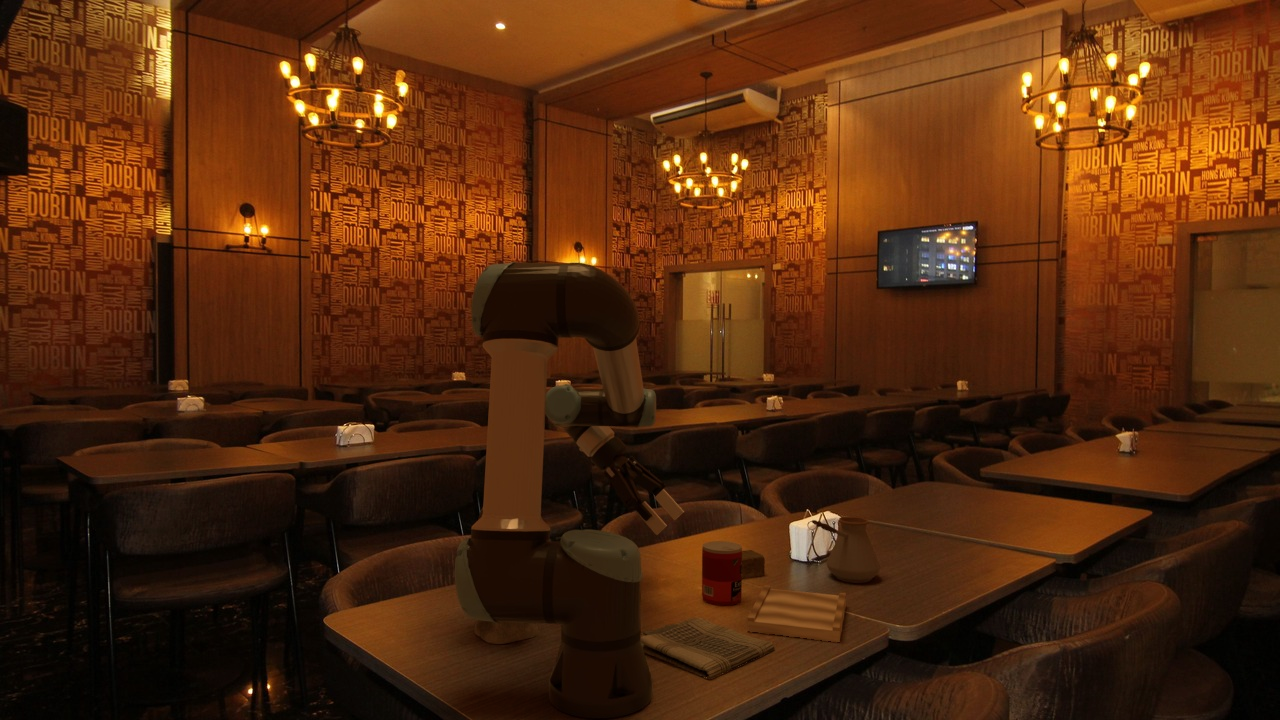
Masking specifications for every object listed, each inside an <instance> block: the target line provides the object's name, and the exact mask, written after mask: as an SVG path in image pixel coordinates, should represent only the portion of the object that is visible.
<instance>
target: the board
mask: <svg viewBox="0 0 1280 720" xmlns="http://www.w3.org/2000/svg"><path fill="white" fill-rule="evenodd" d="M846 599H847V593H846V592H839V593H838V594H828V593H818V592H807V591H798V590H797V591H796V590H789V589H776V588H771V585H767V584H764V586H763V587H762V589H761V591H760V593H759V595H758V597H757V599H756V601H755V602H754V604H753V606H752V609H751V610H750V612H749V614H748V616H747V628H746V629H747V631H750V632H749V633H752V632H759V633H758V634H760V633H766V634H765V635H769V634H775V635H774V636H777V635H783V636H782V637H786V636H789V637H788V638H794V637H800V638H799V639H803V638H807V639H806V640H811V639H814V640H813V641H820V640H822V642H828V641H831V642H830V643H837V642H841V638H842V637H841V636H842V631H843V624H844V619H845V612H846V607H847V600H846Z"/></svg>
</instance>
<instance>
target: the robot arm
mask: <svg viewBox="0 0 1280 720" xmlns="http://www.w3.org/2000/svg"><path fill="white" fill-rule="evenodd" d="M470 305H471V307H470V315H471V327H472V330H473V332H474V334H475V335H476V337H479V338H480V339H482V344H481V345H482V348H483V349H484V350H485V352H487V354H488V355H489V356H490V357H491V362H490V364H491V365H490V366H491V367H490V380H489V382H490V383H489V384H490V385H489V397H488V398H489V401H488V418H487V419H488V421H487V433H486V434H487V435H486V453H485V473H484V488H483V504H482V505H483V506H482V507H483V514H482V517H481V518H480V519H479V520H476V522H475V523H474V524H473V525H472V526H471V528H470V529H471V530H470V531H471V532H470V537H467V538H465V539H462V540H461V542H460V543H459V545H458V547H457V549H456V557H455V561H454V583H455V591H456V596H457V599H458V603H459V605H460V607H461V610H462V611H463V612H464V614H465V615H466V616H467V617H468V618H469V619H471V620H475V621H477V620H481V621H492V622H493V623H500V622H519V623H535V624H549V625H551V624H552V625H553V624H554V625H560V646H559V649H558V651H557V653H556V654H557V655H556V657H555V661H554V664H553V667H552V669H551V672H550V676H549V680H548V700H549V702H550V704H551V705H552V706H553V707H554V708H555V709H557V710H558V711H560V712H562V713H565V714H567V715H570V716H574V717H579V718H585V719H586V718H587V719H612V718H619V717H624V716H628V715H630V714H634V713H636V712H639V711H640V710H642V709H644V708H645V707H646V706H648V704H649V703H650V702H651V700H652V698H653V677H652V673H651V671H650V667H649V664H648V661H647V657H646V655H645V654H646V653H644V651H643V648H642V645H641V636H642V631H641V630H642V628H641V627H642V612H641V611H642V610H641V609H642V608H641V607H642V604H641V603H642V601H641V600H642V599H641V598H642V596H641V594H642V590H641V589H642V587H641V586H642V585H641V584H642V580H643V572H642V564H641V563H642V562H641V551H640V549H639V547H638V545H637V544H636V543H635V542H634V541H633V540H631V539H629V538H627V537H625V536H623V535H620V534H617V533H614V532H610V531H605V530H597V529H584V528H583V529H582V530H581V529H571V530H568V531H566V532H564V533H563V534H562V535H561V538H560V541H553V540H551V527H550V526H549V525H548V524H547V523H546V522H545V521H544V520H543V518H542V516H541V514H542V511H541V510H542V493H543V489H542V488H543V472H544V471H543V470H544V469H543V467H544V449H545V448H544V447H545V446H544V445H545V429H546V428H545V427H546V426H545V423H546V417H547V419H548V420H549V421H550V422H551V423H553V424H555V425H557V426H559V427H561V429H563V431H564V432H565V433H566V434H567V435H568V436H569V437H570V438H571V440H573V441H574V443H575V444H576V445H577V446H578V450H579V451H580V452H583V454H585V455H586V456H587V457H589V458H590V457H591V458H590V460H591V463H593V465H594V466H595V467H596V468H597V469H598V470H599V471H600V472H603V474H604V475H605V477H606V478H607V479H608V480H609V482H610V483H611V486H612V487H613V489H614V490H615V493H616V494H617V496H618V497H619V498H620V500H621V503H622V504H623V505H624V507H625V509H627V511H628V512H629V513H630V514H631V513H633V512H636V514H637V515H638V516H639V517H640V519H642V521H643V522H644V523H645V524H646V526H648V528H650V530H651V531H652V532H653V533H654V534H655V535H656V536H658V535H659V534H660V533H661V532H662V531H663V530H665V528H667V526H668V525H667V524H666V523H665V521H664V520H663V519H662V518H661V517H660V516H659V515H658V514H657V512H656V511H655V510H654V509H653V508H652V507H651V505H650V504H649V503H648V502H647V501H645V500H644V501H643V499H642V497H641V495H640V493H639V491H638V489H637V486H636V485H638V486H639V487H641V488H642V489H644V490H645V491H647V492H649V493H650V494H651V495H653V496H655V497H654V499H655V501H656V502H658V504H659V505H660V506H661V507H662V508H663V509H664V510H665V512H666V513H667V514H668V515H669V516H670V517H671V518H672V519H673V521H677V520H678V518H679V517H680V516H681V515H682V514H683V513H685V510H683V508H682V507H681V506H680V505H679V504H678V503H677V502H676V501H675V499H674V498H673V497H672V496H671V495H670V494H669V493H668V492H667V491H666V490H665V488H666V487H667V485H666V483H665V482H663V481H662V480H661V479H659V478H658V477H657V476H656V475H654V474H653V473H652V472H651V471H649V470H648V469H647V468H646V467H644V466H643V465H642V464H641V463H639V462H638V460H637V459H636V458H635V457H634V456H633V455H630V456H629V458H627V456H625V453H627V451H628V447H627V445H626V444H625V443H624V442H623V441H622V440H621V439H620V437H619V436H615V431H613V429H612V428H611V427H621V428H625V427H626V428H641V427H642V428H644V427H652V426H654V425H655V424H656V418H657V394H656V392H655V390H653V389H648V388H644V382H643V377H642V369H641V363H640V356H639V349H638V344H637V337H638V336H639V334H640V329H641V320H640V315H639V310H638V307H637V305H636V303H635V301H634V299H633V298H632V296H631V295H630V293H629V292H628V290H627V289H626V288H625V287H624V286H623V285H622V284H621V283H620V282H619V281H618V280H617V279H616V278H614V277H613V276H612V275H610V274H609V273H607V272H605V271H604V270H602V269H600V268H598V267H596V266H594V265H590V264H587V263H585V262H584V263H583V262H518V261H517V262H516V261H513V262H512V261H511V262H509V263H494V264H490V265H488V266H487V267H485V268H484V269H483V270H482V271H481V273H480V275H479V276H478V278H477V280H476V283H475V286H474V289H473V293H472V299H471V304H470ZM560 338H561V339H564V338H565V339H567V338H568V339H569V338H570V339H571V338H582V339H584V340H585V342H586V343H587V344H588V345H589V346H590V347H591V348H592V349H593V354H594V356H595V361H596V366H597V369H598V373H599V378H600V381H601V386H602V388H579V387H578V388H575V387H573V386H572V385H571V384H569V383H566V384H561V385H555V386H554V387H551V388H550V389H549V390H548V391H547V382H548V380H547V379H548V361H549V359H550V358H551V357H552V356H553V355H555V353H557V352H558V350H559V339H560Z"/></svg>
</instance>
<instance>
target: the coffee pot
mask: <svg viewBox="0 0 1280 720" xmlns="http://www.w3.org/2000/svg"><path fill="white" fill-rule="evenodd" d="M838 522H839V523H840V525H841V530H838V529H836V528H834V527H832V526H831V525H829V524H827V523H823V522H822V521H820V520H815V519H812V520H811V521H808V523H807V528H808V530H811V531H814V530H816V529H817V528H822V530H825V531H826V532H830V533H833V534H836V535H838V536H837V539H836V540H835V543H834V545H833V547H832V550H831V551H830V553H829V556H828V559H827V561H826V566H827V569H828V570H829V571H830V572H831V574H832V575H834V576H835V578H836V579H837V580H839V581H841V582H846V583H852V584H853V583H856V584H857V583H858V584H862V583H863V584H864V583H868V582H870V581H872V579H873V578H875V577H876V576H877V575H878V574H879V572H880V570H881V565H880V563H879V560H878V558H877V556H876V552H875V550H874V548H873V546H872V542H871V541H870V538H869V536H868V533H867V531H866V529H867V527H868V526H867V525H868V524H869V523H870V521H869V520H868V519H866V518H863V517H858V516H857V517H855V516H846V517H844V516H843V517H839V519H838ZM810 523H812V524H814V525H815V527H814V528H810V527H809V524H810Z"/></svg>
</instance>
